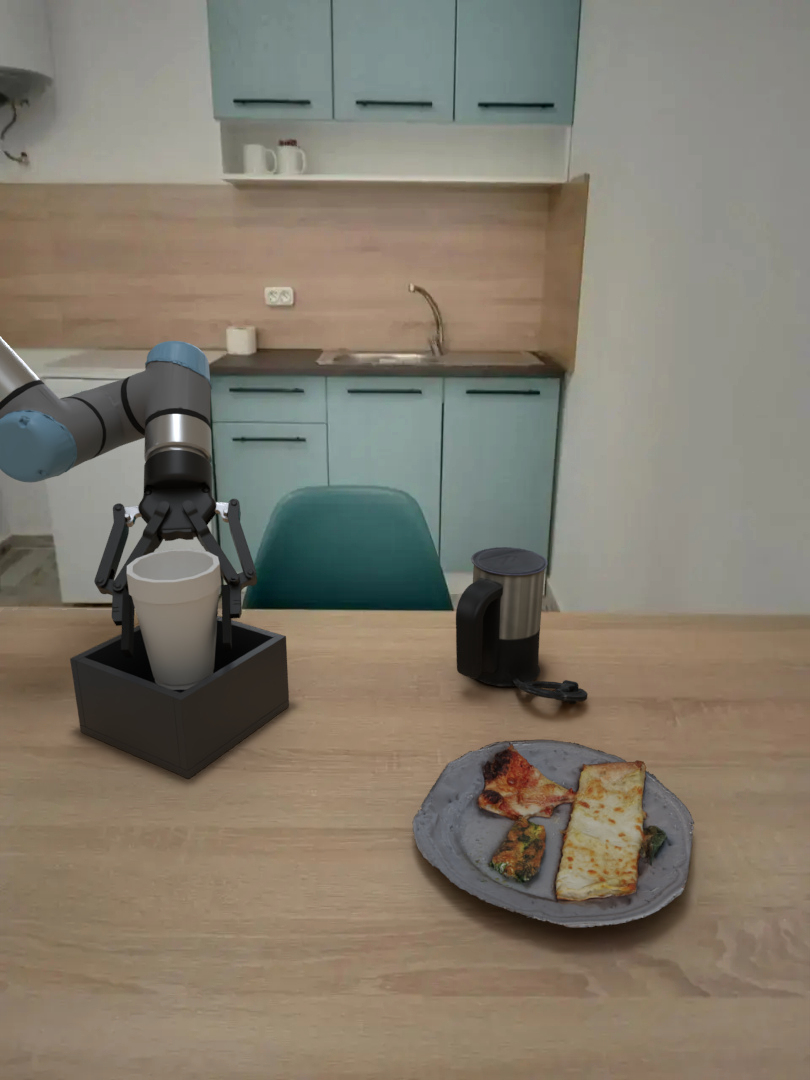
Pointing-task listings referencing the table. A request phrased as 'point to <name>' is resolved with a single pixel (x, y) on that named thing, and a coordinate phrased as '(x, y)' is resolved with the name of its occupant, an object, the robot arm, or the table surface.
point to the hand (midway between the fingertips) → (177, 650)
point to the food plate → (557, 832)
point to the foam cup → (177, 613)
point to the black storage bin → (181, 699)
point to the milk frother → (506, 624)
